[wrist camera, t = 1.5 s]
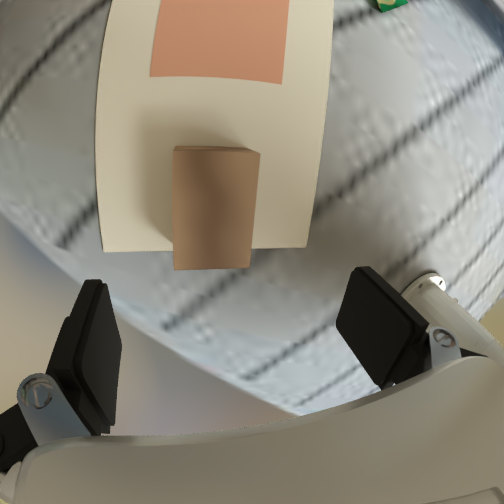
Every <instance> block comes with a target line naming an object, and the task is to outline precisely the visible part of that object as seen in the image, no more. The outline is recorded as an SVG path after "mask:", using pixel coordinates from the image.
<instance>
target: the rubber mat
mask: <svg viewBox="0 0 504 504" xmlns="http://www.w3.org/2000/svg"><path fill="white" fill-rule="evenodd" d="M333 8H334V0H113V1H112V5H111V9H110V13H109V18H108V22H107V27H106V32H105V38H104V43H103V49H102V56H101V63H100V71H99V81H98V92H97V106H96V133H95V155H96V182H97V197H98V209H99V219H100V227H101V235H102V243H103V250H104V252H133V251H172V250H173V231H172V161H173V150H174V148H175V146H223V147H244V148H249V149H251V150H253V151H256V152H258V153H260V165H259V175H258V185H257V196H256V206H255V217H254V227H253V238H252V248H251V249H259V248H306V245H307V240H308V234H309V228H310V223H311V217H312V211H313V204H314V198H315V192H316V185H317V178H318V171H319V164H320V157H321V149H322V141H323V133H324V125H325V116H326V107H327V97H328V86H329V75H330V63H331V48H332V31H333Z"/></svg>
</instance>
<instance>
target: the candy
mask: <svg viewBox="0 0 504 504" xmlns="http://www.w3.org/2000/svg"><path fill="white" fill-rule="evenodd" d="M376 1H377V4H378V6H379V9H380V11H381V13H382V12H386V11H389V10H391V9H394V8H397V7H399V6H402V5H404V4H407V3H408V2H407V1H406V0H376Z"/></svg>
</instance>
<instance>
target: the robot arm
mask: <svg viewBox="0 0 504 504" xmlns="http://www.w3.org/2000/svg"><path fill="white" fill-rule="evenodd" d="M336 328H337V330H338V331H339V333H340V334H341V336H342V337H343V338H344V340H345V341H346V343H347V344H348V346H349V347H350V349H351V350H352V351H353V353H354V354H355V356H356V357H357V359H358V360H359V362H360V363H361V364H362V366H363V367H364V369H365V370H366V372H367V373H368V375H369V376H370V378H371V379H372V381H373V382H374V383H375V384H376V385H378V386H379V387H380V389H381V390H382V391H379V392H376V393H374V394H371V395H368V396H366V397H363V398H360V399H357V400H354V401H351V402H348V403H345V404H342V405H339V406H336V407H332V408H329V409H325V410H322V411H318V412H315V413H311V414H307V415H303V416H299V417H295V418H291V419H286V420H282V421H277V422H272V423H267V424H262V425H256V426H251V427H244V428H238V429H231V430H223V431H215V432H205V433H193V434H179V435H158V436H101V433H105V434H110V426H114V424H115V414H116V399H117V386H118V375H119V367H120V359H121V351H122V344H121V339H120V335H119V331H118V328H117V324H116V320H115V316H114V312H113V308H112V304H111V299H110V295H109V290H108V286H107V284H106V283H102V281H101V280H100V279H91V280H85V281H84V284H83V286H82V288H81V290H80V293H79V295H78V298H77V300H76V302H75V304H74V307H73V309H72V312H71V314H70V316H68V317H66V318H65V320H64V322H63V325H62V327H61V330H60V333H59V335H58V338H57V341H56V343H55V346H54V349H53V352H52V355H51V358H50V361H49V364H48V367H47V370H46V373H45V374H43V373H35V374H33V375H30V376H28V377H27V378H25V379H24V380H23V381H22V382H21V384H20V385H19V388H18V390H17V400H18V403H17V404H16V405H14V406H13V407H11V408H10V409H8V410H7V411H5V412H4V413H2V414H0V504H504V347H503V346H502V345H501V344H500V343H499V342H498V341H497V340H496V339H495V338H494V337H493V336H492V335H491V334H490V333H489V332H488V331H487V330H486V329H485V328H484V327H483V326H482V325H481V324H480V323H479V322H478V321H477V320H476V319H475V318H474V317H472V316H471V315H470V314H469V313H468V312H467V311H466V310H465V309H464V308H463V307H461V306H460V305H459V304H458V300H457V298H453V299H452V298H451V297H450V296H449V295H448V294H447V293H445V281H444V279H443V278H442V277H441V276H440V275H438V274H437V273H428V274H425V275H423V276H421V277H420V278H418V279H417V280H415V281H414V282H413V283H412V284H411V285H409V286H408V287H407V288H406V290H405V291H404V292H403V293H402V294H401V295H400V294H399V293H398V292H397V291H396V290H395V289H394V288H393V287H392V286H390V285H389V284H388V283H387V282H386V281H385V280H384V279H383V278H382V277H381V276H380V275H379V274H377V273H376V272H375V271H374V270H373V269H372V268H371V267H369V266H364V267H356V268H355V269H354V271H352V273H351V275H350V279H349V282H348V285H347V289H346V292H345V295H344V298H343V301H342V305H341V308H340V311H339V314H338V317H337V320H336ZM394 383H395V384H396V385H394V386H393V384H394Z"/></svg>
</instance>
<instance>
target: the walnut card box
mask: <svg viewBox="0 0 504 504" xmlns="http://www.w3.org/2000/svg"><path fill="white" fill-rule="evenodd" d="M259 165H260V153H258V152H256V151H253V150H251V149H249V148H244V147H223V146H175V148H174V150H173V161H172V231H173V258H174V270H198V269H228V268H250V259H251V248H252V238H253V227H254V217H255V206H256V196H257V185H258V175H259Z"/></svg>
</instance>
